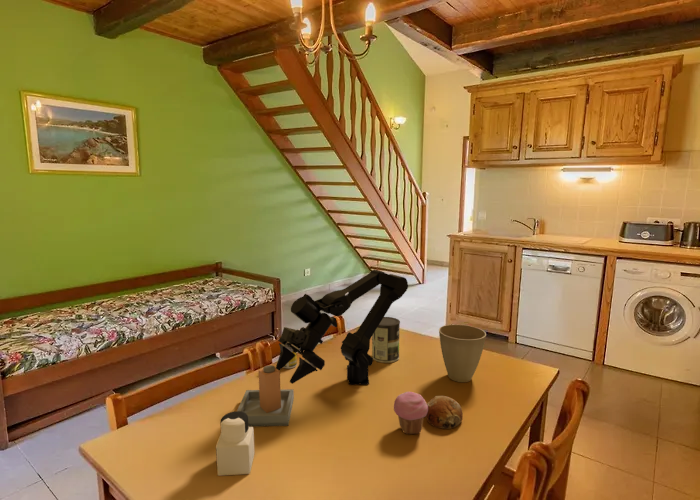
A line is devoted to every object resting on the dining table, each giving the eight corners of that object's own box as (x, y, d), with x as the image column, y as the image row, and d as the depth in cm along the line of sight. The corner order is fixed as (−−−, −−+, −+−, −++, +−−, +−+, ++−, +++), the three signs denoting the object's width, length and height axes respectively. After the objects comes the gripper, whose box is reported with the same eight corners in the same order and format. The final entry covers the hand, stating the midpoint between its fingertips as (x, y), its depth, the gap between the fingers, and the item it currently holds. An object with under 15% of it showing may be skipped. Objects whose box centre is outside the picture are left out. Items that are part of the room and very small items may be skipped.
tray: (293, 398, 122) (293, 389, 122) (288, 425, 108) (287, 415, 108) (246, 399, 122) (246, 390, 121) (235, 426, 108) (234, 416, 107)
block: (273, 401, 119) (272, 363, 117) (281, 407, 115) (279, 368, 113) (259, 406, 116) (258, 367, 114) (266, 413, 113) (265, 372, 111)
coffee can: (397, 351, 157) (398, 316, 155) (400, 363, 147) (401, 325, 144) (371, 351, 157) (371, 316, 155) (372, 363, 147) (372, 325, 145)
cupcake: (432, 438, 103) (433, 401, 101) (398, 442, 101) (399, 404, 100) (420, 418, 111) (421, 384, 110) (389, 421, 110) (389, 387, 108)
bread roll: (462, 428, 113) (464, 398, 115) (460, 433, 104) (462, 399, 106) (426, 422, 116) (429, 392, 118) (421, 425, 107) (424, 393, 109)
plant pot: (483, 391, 126) (485, 342, 124) (434, 383, 131) (436, 336, 129) (484, 370, 140) (486, 326, 138) (440, 365, 145) (441, 321, 143)
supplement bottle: (298, 362, 147) (297, 336, 146) (294, 369, 142) (294, 342, 140) (283, 362, 148) (283, 336, 146) (279, 368, 142) (278, 342, 141)
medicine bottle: (224, 455, 96) (221, 408, 95) (254, 453, 97) (252, 406, 95) (216, 476, 89) (214, 426, 88) (250, 474, 90) (247, 424, 88)
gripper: (282, 309, 125) (250, 352, 120) (313, 325, 110) (278, 376, 105) (306, 327, 130) (276, 370, 126) (338, 346, 115) (306, 394, 111)
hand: (283, 376), depth 117 cm, fingers open, 9 cm apart
